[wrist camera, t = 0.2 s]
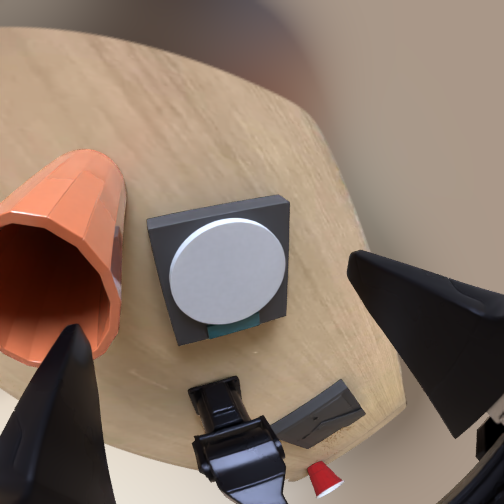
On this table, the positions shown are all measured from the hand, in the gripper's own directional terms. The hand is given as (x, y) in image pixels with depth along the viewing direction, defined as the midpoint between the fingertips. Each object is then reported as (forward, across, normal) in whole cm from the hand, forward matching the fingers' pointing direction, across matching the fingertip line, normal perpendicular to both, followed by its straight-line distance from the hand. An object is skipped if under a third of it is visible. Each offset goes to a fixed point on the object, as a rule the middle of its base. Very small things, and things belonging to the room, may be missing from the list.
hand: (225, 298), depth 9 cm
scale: (+14, -3, +9) cm, 17 cm away
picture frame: (+13, -19, +50) cm, 55 cm away
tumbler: (+15, +7, 0) cm, 16 cm away
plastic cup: (+12, -24, +95) cm, 99 cm away
